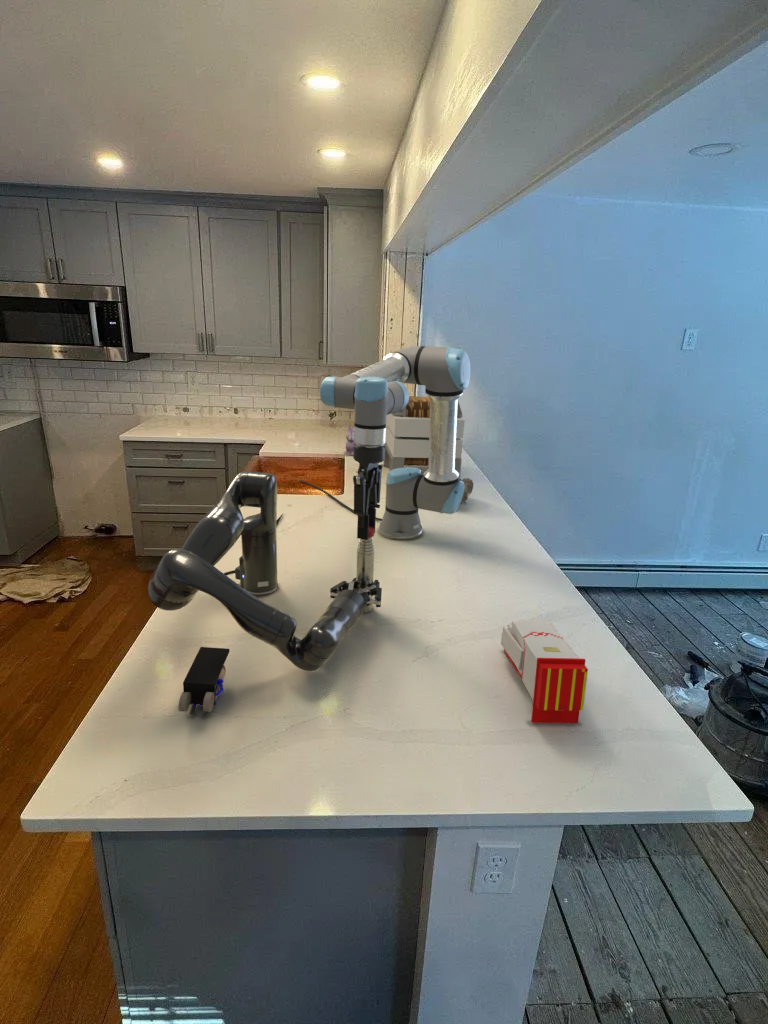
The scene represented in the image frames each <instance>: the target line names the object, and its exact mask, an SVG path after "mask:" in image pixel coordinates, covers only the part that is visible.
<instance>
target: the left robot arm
mask: <svg viewBox="0 0 768 1024" xmlns="http://www.w3.org/2000/svg"><path fill="white" fill-rule="evenodd" d="M244 507H247V508H248V507H249V508H259V509H260V511H259V513H256V514H252V515H248V516H246V517H244V515H243V513H242V510H241V508H244ZM277 520H278V481H277V477H276V476H275V475H274V474H273V473H269V472H260V471H247V470H246V471H245V470H244V471H241V472H239V473H238V474H237V475H236V476H235V477H234V478H233V480H232V481H231V483H229V485H228V487H227V489H226V490H225V492H224V493H223V494H222V496H221V497H220V498H219V499H218V501H217V502H216V503H215V504H214V505H213V506H212V507H211V508H210V509H209V510H208V511H207V512H206V513H205V515H203V517H202V518H201V519H199V521H198V523H196V525H195V526H194V528H193V530H192V531H191V532H190V534H189V536H188V537H187V539H186V541H185V542H184V544H183V545H182V547H181V548H174V549H171V550H169V551H167V552H165V554H164V555H163V556H162V558H161V559H160V561H159V562H158V564H157V565H156V567H155V569H154V570H153V573H152V574H151V576H150V578H149V580H148V584H147V595H148V599H149V600H150V602H151V603H152V604H153V606H155V607H156V608H157V609H160V610H162V611H167V612H168V611H169V612H172V611H177V610H181V609H183V608H185V607H186V606H188V605H189V604H190V603H192V601H193V600H194V598H195V597H196V596H197V594H198V593H199V592H202V593H204V594H206V595H209V596H211V597H212V598H213V599H215V600H216V601H217V602H219V603H220V604H221V605H222V606H223V607H224V608H225V609H226V610H227V612H228V613H229V614H230V615H231V617H232V618H233V619H234V621H235V622H236V624H237V625H238V626H239V627H240V628H241V629H242V630H243V631H244V632H246V633H247V634H249V635H251V637H254V638H256V639H258V640H260V641H262V642H264V643H266V644H268V645H269V646H272V647H274V648H275V649H276V650H277V651H278V652H279V653H281V654H282V655H283V656H284V657H285V658H286V659H287V660H288V661H290V662H291V664H293V665H294V666H295V667H297V668H298V669H299V670H301V671H304V672H316V671H318V670H319V669H321V668H322V667H323V665H324V664H325V663H326V662H327V661H328V660H329V659H330V657H331V656H332V655H333V654H334V653H335V652H336V651H337V650H338V648H339V647H340V645H341V643H342V641H343V639H344V638H345V637H346V635H347V634H348V632H349V631H350V630H351V629H352V628H353V627H354V626H355V625H356V623H357V622H358V620H359V619H360V617H361V616H362V615H363V612H364V610H365V608H366V607H368V606H369V605H370V604H372V605H374V606H375V607H376V608H381V607H382V597H383V596H382V592H383V590H382V589H383V588H382V587H380V584H381V583H380V581H379V579H375V580H373V584H372V585H371V586H370V587H366V588H364V589H362V590H358V589H356V577H354V578H352V580H350V581H349V582H347V581H346V580H342V581H341V582H339V583H336V584H335V585H333V586H332V587H330V588H329V598H330V599H332V601H330V603H329V604H328V606H327V607H326V609H325V611H324V612H323V613H322V614H321V615H320V617H318V619H317V621H316V622H315V623H314V624H313V625H312V626H311V627H310V628H309V630H308V631H307V632H306V633H305V634H304V635H303V636H302V637H301V638H299V637H298V636H296V635H295V633H296V631H297V625H298V623H297V620H296V619H295V618H294V616H291V615H290V614H289V613H286V612H284V611H283V610H280V609H279V608H276V607H274V606H272V605H271V604H270V603H267V602H265V601H263V600H261V599H260V598H259V597H257V596H264V595H269V594H272V593H274V592H276V591H277V590H278V589H279V583H278V581H279V580H278V550H277V549H278V547H277V540H278V539H277V526H276V521H277ZM240 537H241V539H240V540H241V556H240V557H239V558H238V562H239V563H238V564H239V565H238V566H237V567H235V568H234V569H233V570H229V571H225V572H222V571H221V570H219V569H218V568H217V567H216V565H217V564H218V563H219V562H220V561H221V560H222V559H223V558H224V556H225V555H227V553H228V552H229V551H230V550H231V549H232V548H233V546H234V545H235V544H236V542H237V541H238V540H239V538H240ZM234 574H235V575H234ZM229 575H234V576H235V580H238V581H239V583H237V582H236V581H235V580H234V579H232V578H230V577H229ZM239 584H240V585H239ZM371 598H372V599H371Z"/></svg>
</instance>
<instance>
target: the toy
mask: <svg viewBox="0 0 768 1024" xmlns="http://www.w3.org/2000/svg"><path fill="white" fill-rule="evenodd" d="M500 645H501V646H502V648H503V652H504V654H505V655H506V657H507V658H508V660H509V661H510V663H511V664H512V666H513V668H514V669H515V671H516V672H517V674H518V676H519V677H520V679H521V680H522V683H523V685H524V686H525V688H526V690H527V692H528V694H529V696H530V697H531V699H532V708H531V719H530V722H531V723H532V724H579V719H580V712H583V711H584V706H585V697H586V689H587V680H588V671H589V669H588V667H587V666H586V659H585V658H580V657H579V656H578V655H577V654H576V652H575V651H574V650H573V648H572V647H571V646H570V645H569V644H568V642H567V641H566V640H565V638H564V637H563V636H562V634H561V633H560V632H559V631H558V630H557V628H556V627H555V626H554V624H553V623H552V622H551V621H549V620H548V621H545V620H540V621H539V620H511V622H508V623H507V626H502V632H501V638H500Z"/></svg>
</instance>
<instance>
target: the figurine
mask: <svg viewBox="0 0 768 1024" xmlns="http://www.w3.org/2000/svg"><path fill="white" fill-rule="evenodd" d="M353 429H354V426H352V428H351V426H350V425H348V426H347V433H346V435H345V439H346V440H347V441H346V442H345V452H344V453H345V455H346V456H353V450H354V445H355V444H356V443H355V442H354V432H353Z"/></svg>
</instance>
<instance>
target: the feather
mask: <svg viewBox="0 0 768 1024" xmlns="http://www.w3.org/2000/svg"><path fill="white" fill-rule="evenodd" d="M283 515H284V513H282V514H281V515H280V516H279V517H277V520H276V527H277V526H278V525H279V522H280V520H281V519H282V517H283Z"/></svg>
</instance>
